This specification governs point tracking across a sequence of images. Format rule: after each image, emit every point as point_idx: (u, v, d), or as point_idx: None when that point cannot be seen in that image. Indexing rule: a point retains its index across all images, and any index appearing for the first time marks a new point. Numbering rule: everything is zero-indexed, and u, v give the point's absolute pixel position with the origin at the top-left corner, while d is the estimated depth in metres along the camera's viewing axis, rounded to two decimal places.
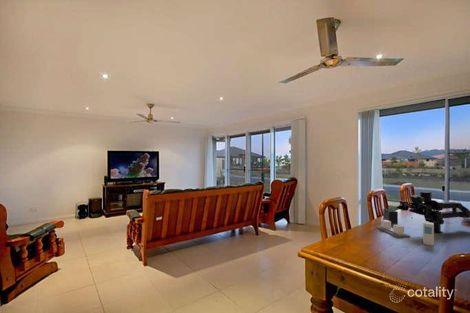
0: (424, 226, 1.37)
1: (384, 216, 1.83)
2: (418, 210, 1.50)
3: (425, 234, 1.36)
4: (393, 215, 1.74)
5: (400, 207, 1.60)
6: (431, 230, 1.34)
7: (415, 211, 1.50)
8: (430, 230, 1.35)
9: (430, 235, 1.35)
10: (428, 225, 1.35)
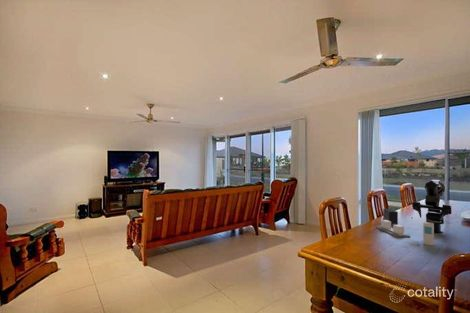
0: (424, 226, 1.37)
1: (384, 216, 1.83)
2: None
3: (425, 234, 1.36)
4: (393, 215, 1.74)
5: None
6: (431, 230, 1.34)
7: (443, 216, 1.41)
8: (430, 230, 1.35)
9: (430, 235, 1.35)
10: (428, 225, 1.35)
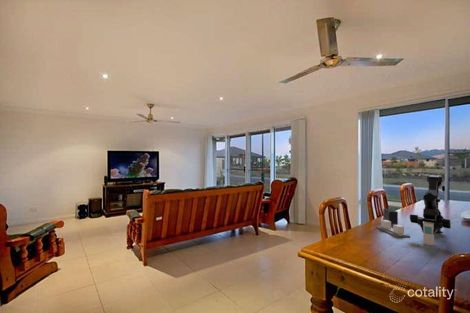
0: (424, 226, 1.37)
1: (384, 216, 1.83)
2: None
3: (425, 234, 1.36)
4: (393, 215, 1.74)
5: None
6: (431, 230, 1.34)
7: (436, 230, 1.36)
8: (430, 230, 1.35)
9: (430, 235, 1.35)
10: (428, 225, 1.35)
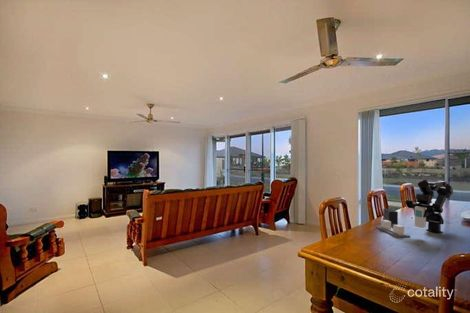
0: (415, 210, 1.49)
1: (384, 216, 1.83)
2: (428, 210, 1.47)
3: (416, 217, 1.48)
4: (393, 215, 1.74)
5: None
6: (421, 213, 1.46)
7: (428, 214, 1.46)
8: (420, 213, 1.46)
9: (420, 218, 1.46)
10: (419, 209, 1.47)
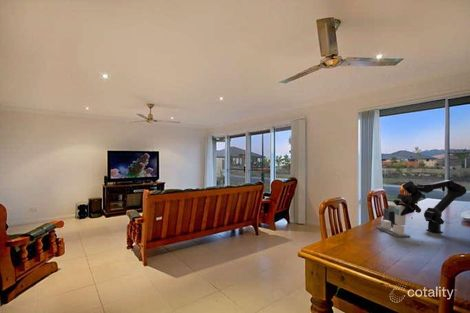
0: (395, 208, 1.60)
1: (384, 216, 1.83)
2: (408, 210, 1.55)
3: (395, 215, 1.60)
4: (393, 215, 1.74)
5: None
6: (398, 211, 1.57)
7: (406, 213, 1.55)
8: (398, 211, 1.57)
9: (398, 216, 1.57)
10: (397, 207, 1.58)
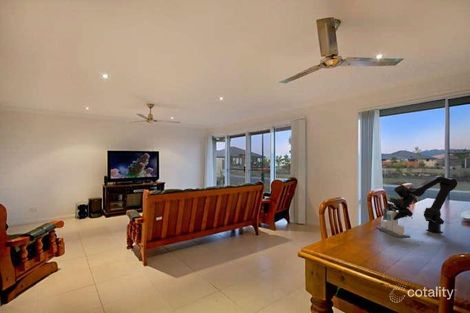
0: (387, 214, 1.60)
1: (384, 216, 1.83)
2: (401, 214, 1.54)
3: (387, 220, 1.59)
4: None
5: None
6: (390, 217, 1.57)
7: (399, 217, 1.54)
8: (390, 217, 1.57)
9: (390, 221, 1.57)
10: (389, 213, 1.58)
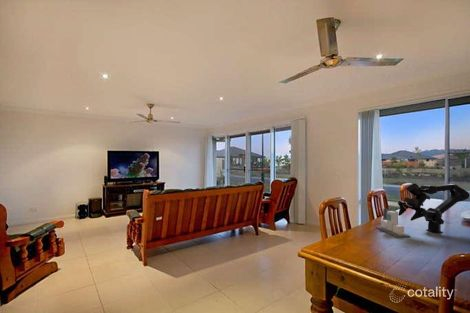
0: (387, 214, 1.60)
1: (384, 216, 1.83)
2: (418, 214, 1.53)
3: (387, 220, 1.59)
4: None
5: (401, 212, 1.63)
6: (390, 217, 1.57)
7: (416, 217, 1.53)
8: (390, 217, 1.57)
9: (390, 221, 1.57)
10: (389, 213, 1.58)
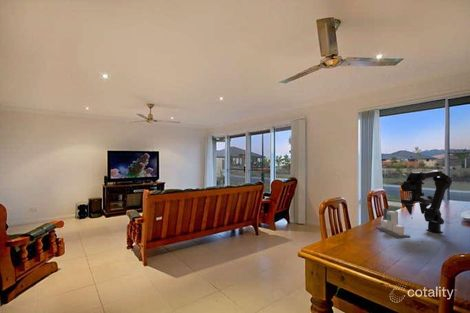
0: (387, 214, 1.60)
1: (384, 216, 1.83)
2: None
3: (387, 220, 1.59)
4: None
5: None
6: (390, 217, 1.57)
7: None
8: (390, 217, 1.57)
9: (390, 221, 1.57)
10: (389, 213, 1.58)
